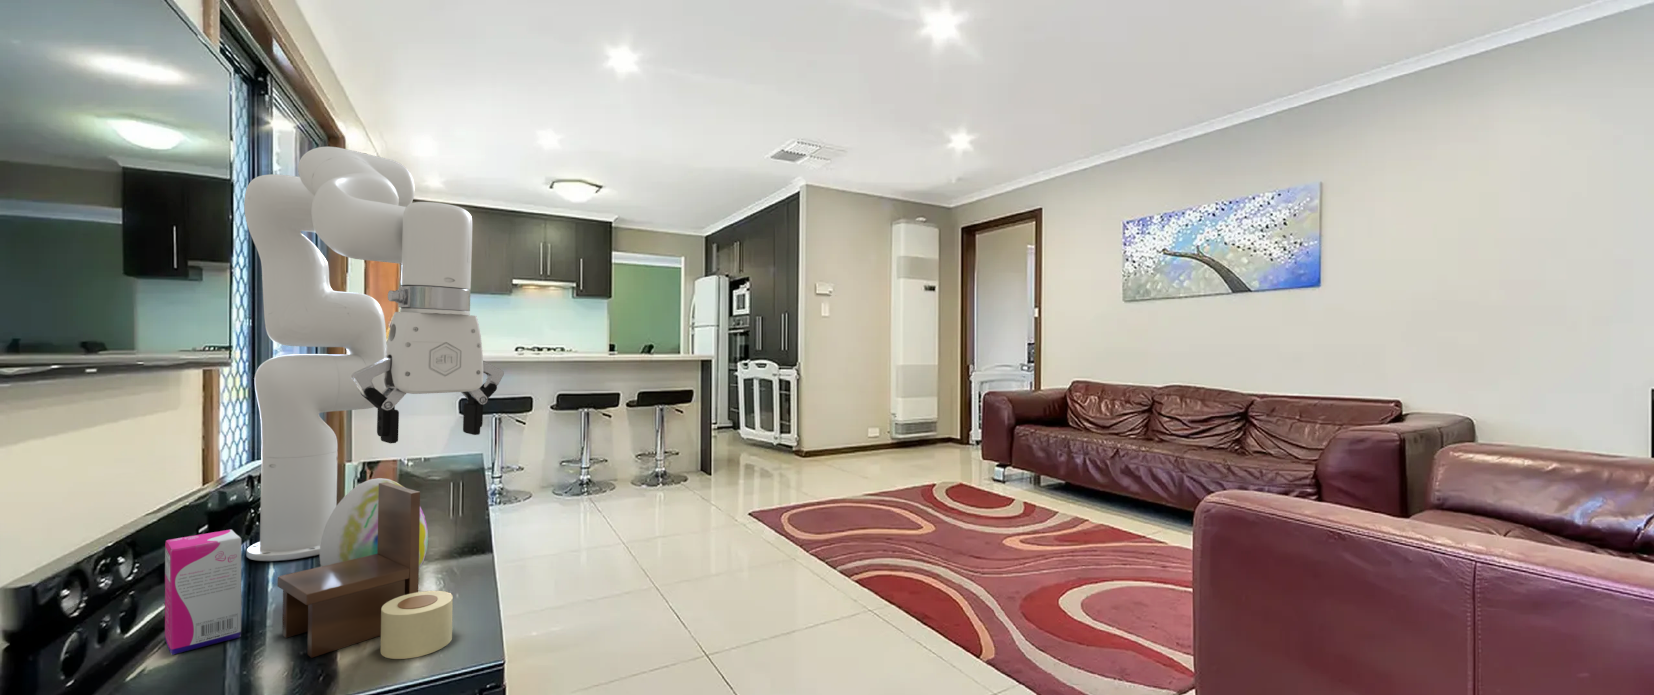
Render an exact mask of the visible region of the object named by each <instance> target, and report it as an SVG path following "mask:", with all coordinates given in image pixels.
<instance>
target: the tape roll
mask: <svg viewBox="0 0 1654 695" xmlns="http://www.w3.org/2000/svg"><path fill="white" fill-rule="evenodd" d="M453 596H454V595H453V594H452V593H450V592H448V591H444V590H424V591H423V590H422V591H418V592H416V593H411V594H407V595H403V596H400V597H397V598H395V599H392V600H390V601H388V602H387V603H385V604H384V605H383V606H382V608H381V636H380V655H381V656H382V657H385V658H387V659H392V660H407V659H413V658H418V657H423V656H426V655H430V654H432V653H435V652H437V651H439V650H441V649H443V648H445V647H446V646H448V645H449V644H450V643H451V642H452V639H453V610H454V609H453V608H454V607H453V606H454V605H453V604H454V603H453V599H454V597H453Z"/></svg>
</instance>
